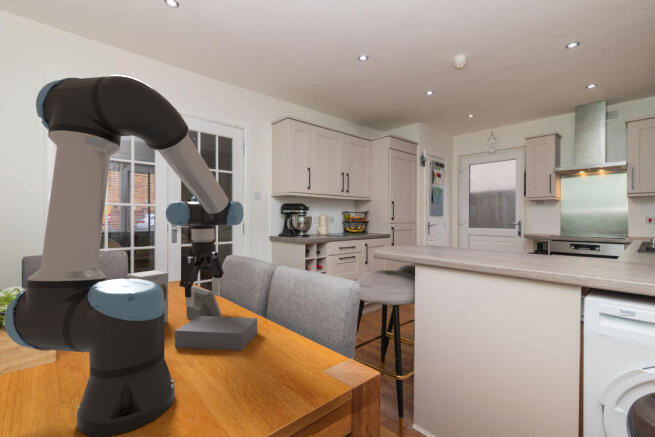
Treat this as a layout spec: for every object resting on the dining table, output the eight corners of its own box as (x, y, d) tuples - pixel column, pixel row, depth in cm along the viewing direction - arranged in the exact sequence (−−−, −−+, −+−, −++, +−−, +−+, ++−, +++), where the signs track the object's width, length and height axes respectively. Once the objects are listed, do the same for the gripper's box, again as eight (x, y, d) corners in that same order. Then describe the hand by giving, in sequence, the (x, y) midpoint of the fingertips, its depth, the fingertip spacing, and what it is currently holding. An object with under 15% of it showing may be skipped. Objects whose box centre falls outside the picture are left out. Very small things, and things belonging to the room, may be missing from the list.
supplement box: (138, 330, 93) (138, 277, 93) (125, 324, 99) (125, 273, 98) (169, 321, 101) (169, 272, 101) (155, 316, 106) (155, 269, 106)
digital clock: (223, 321, 102) (223, 290, 102) (195, 327, 96) (195, 294, 96) (208, 309, 115) (208, 281, 115) (183, 314, 109) (183, 285, 109)
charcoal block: (241, 352, 80) (241, 333, 80) (175, 348, 82) (174, 330, 82) (257, 334, 92) (257, 318, 92) (198, 331, 94) (198, 315, 94)
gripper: (216, 237, 119) (216, 290, 119) (166, 244, 94) (167, 310, 95) (232, 237, 116) (233, 291, 117) (186, 244, 92) (187, 312, 93)
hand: (203, 300), depth 106 cm, fingers open, 13 cm apart
